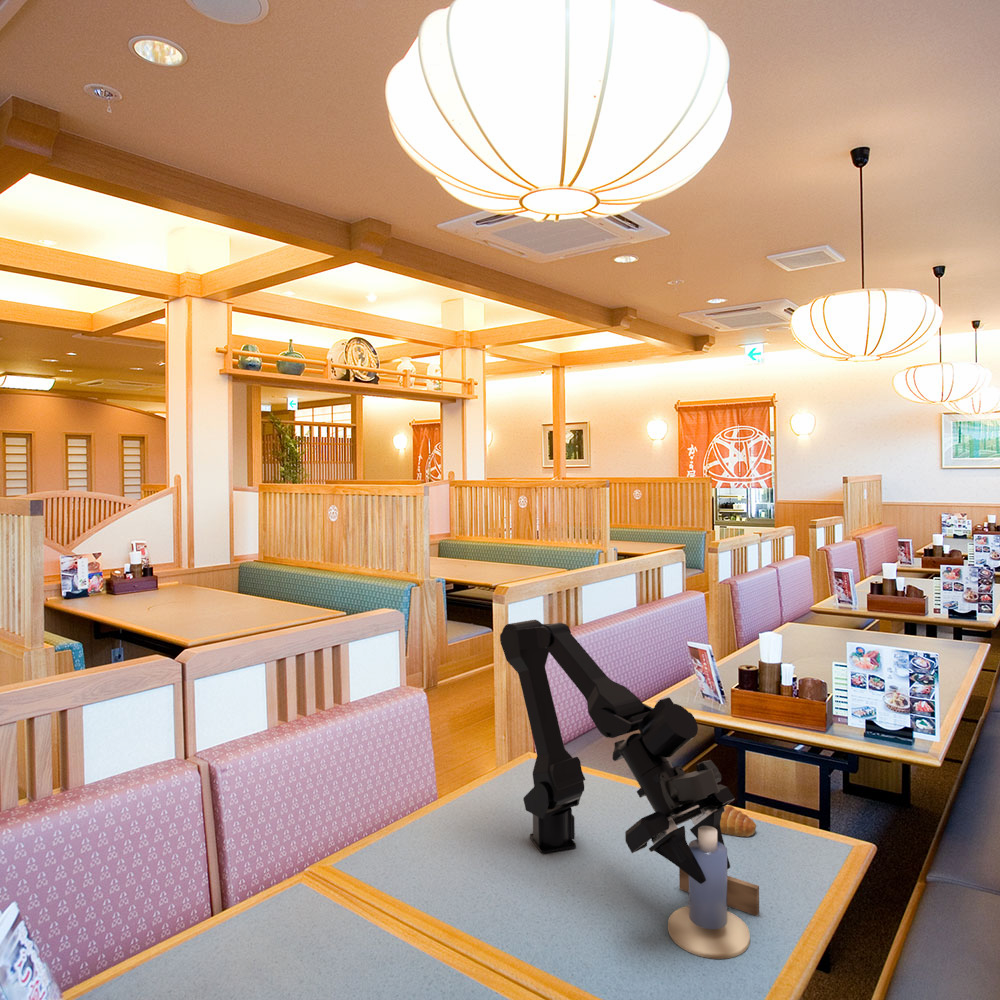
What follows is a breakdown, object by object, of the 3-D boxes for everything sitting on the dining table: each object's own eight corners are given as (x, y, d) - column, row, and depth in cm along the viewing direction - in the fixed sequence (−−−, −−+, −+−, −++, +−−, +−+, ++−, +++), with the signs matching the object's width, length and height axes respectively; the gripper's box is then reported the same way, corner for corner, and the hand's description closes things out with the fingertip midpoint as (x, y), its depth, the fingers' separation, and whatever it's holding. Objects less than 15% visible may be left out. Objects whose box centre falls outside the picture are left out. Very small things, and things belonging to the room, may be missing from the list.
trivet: (695, 966, 96) (695, 960, 96) (653, 918, 106) (653, 913, 106) (766, 949, 99) (766, 943, 99) (719, 904, 110) (719, 899, 110)
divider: (679, 888, 114) (679, 863, 114) (682, 886, 115) (681, 860, 115) (757, 916, 107) (756, 889, 106) (759, 912, 107) (759, 885, 107)
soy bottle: (689, 926, 101) (689, 837, 100) (688, 905, 106) (687, 819, 105) (728, 931, 100) (728, 841, 99) (725, 909, 105) (725, 823, 104)
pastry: (761, 829, 133) (761, 808, 133) (748, 844, 128) (747, 822, 128) (712, 814, 139) (712, 795, 139) (697, 828, 134) (697, 808, 134)
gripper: (640, 761, 99) (707, 875, 91) (723, 731, 111) (791, 830, 102) (599, 798, 106) (659, 908, 98) (682, 766, 117) (742, 862, 109)
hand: (715, 875), depth 101 cm, fingers closed on soy bottle, 5 cm apart
